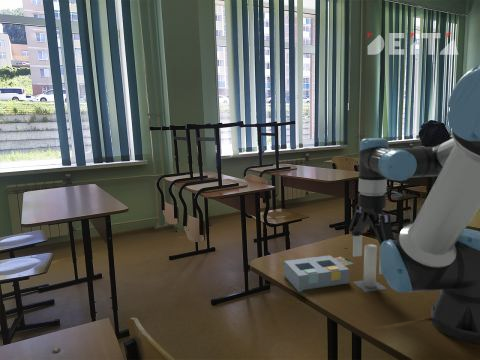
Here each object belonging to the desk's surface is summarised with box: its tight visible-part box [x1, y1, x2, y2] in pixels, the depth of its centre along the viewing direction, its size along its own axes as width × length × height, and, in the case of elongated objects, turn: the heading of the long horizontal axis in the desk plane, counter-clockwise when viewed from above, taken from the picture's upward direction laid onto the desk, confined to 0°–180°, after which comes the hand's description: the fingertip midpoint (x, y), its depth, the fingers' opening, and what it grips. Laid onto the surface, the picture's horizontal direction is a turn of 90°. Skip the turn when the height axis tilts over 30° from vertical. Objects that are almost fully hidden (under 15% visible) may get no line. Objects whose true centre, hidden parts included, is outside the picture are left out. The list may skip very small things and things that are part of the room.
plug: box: [362, 243, 378, 288], centre depth 111 cm, size 3×3×12 cm
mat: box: [352, 279, 388, 293], centre depth 112 cm, size 7×7×1 cm
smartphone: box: [333, 255, 356, 267], centre depth 129 cm, size 8×15×1 cm, turn 109°
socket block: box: [283, 255, 350, 293], centre depth 117 cm, size 12×16×5 cm
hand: (369, 264), depth 111 cm, fingers open, 13 cm apart
